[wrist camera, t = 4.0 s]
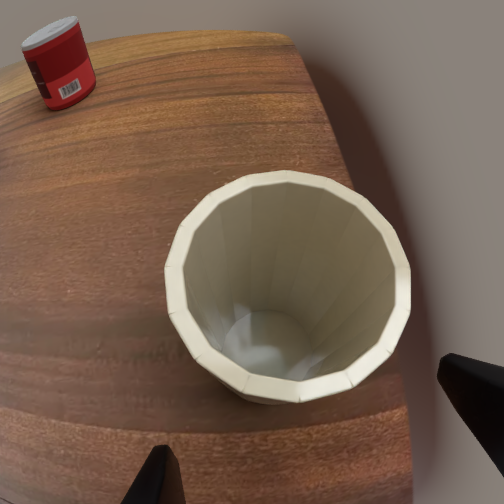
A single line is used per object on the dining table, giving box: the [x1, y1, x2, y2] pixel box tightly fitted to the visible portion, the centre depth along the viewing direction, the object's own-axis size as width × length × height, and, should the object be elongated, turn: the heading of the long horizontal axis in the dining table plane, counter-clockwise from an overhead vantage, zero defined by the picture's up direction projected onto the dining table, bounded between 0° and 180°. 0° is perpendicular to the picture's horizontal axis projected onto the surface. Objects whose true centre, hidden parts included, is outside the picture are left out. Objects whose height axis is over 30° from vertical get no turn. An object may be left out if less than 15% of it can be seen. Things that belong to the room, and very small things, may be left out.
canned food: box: [21, 16, 96, 110], centre depth 29 cm, size 8×8×11 cm
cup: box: [164, 170, 411, 405], centre depth 14 cm, size 6×6×13 cm
